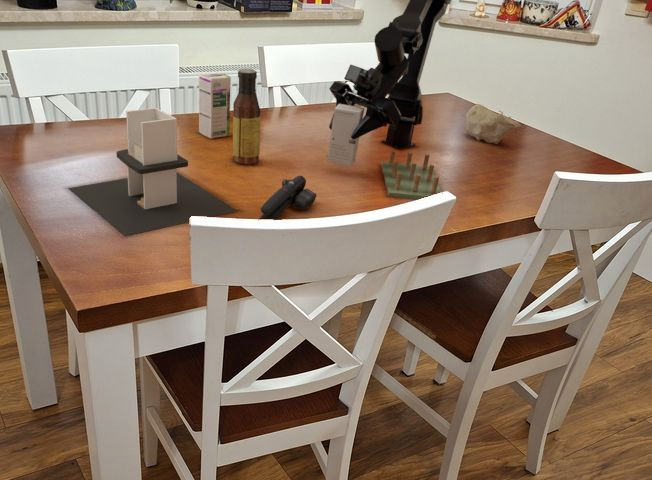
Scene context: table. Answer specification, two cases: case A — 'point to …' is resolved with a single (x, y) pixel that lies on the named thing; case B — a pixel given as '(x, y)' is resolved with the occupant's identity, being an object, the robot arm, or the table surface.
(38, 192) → the table surface
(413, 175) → the plate rack
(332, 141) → the cosmetic box
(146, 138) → the box holder stand
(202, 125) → the syrup box
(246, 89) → the sauce bottle
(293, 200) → the can opener
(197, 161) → the table surface
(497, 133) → the beige lumpy chunk
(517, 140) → the table surface
